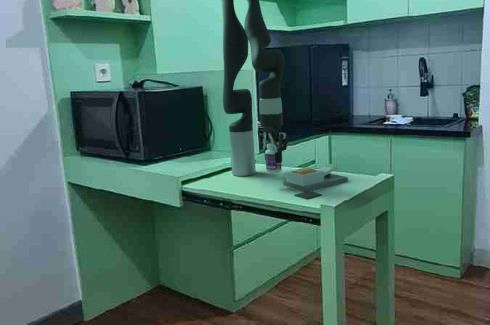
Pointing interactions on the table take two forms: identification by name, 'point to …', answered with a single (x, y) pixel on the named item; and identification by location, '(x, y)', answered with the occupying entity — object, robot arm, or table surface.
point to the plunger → (304, 171)
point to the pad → (308, 195)
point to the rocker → (329, 169)
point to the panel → (312, 180)
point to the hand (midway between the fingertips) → (273, 161)
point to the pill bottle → (272, 160)
